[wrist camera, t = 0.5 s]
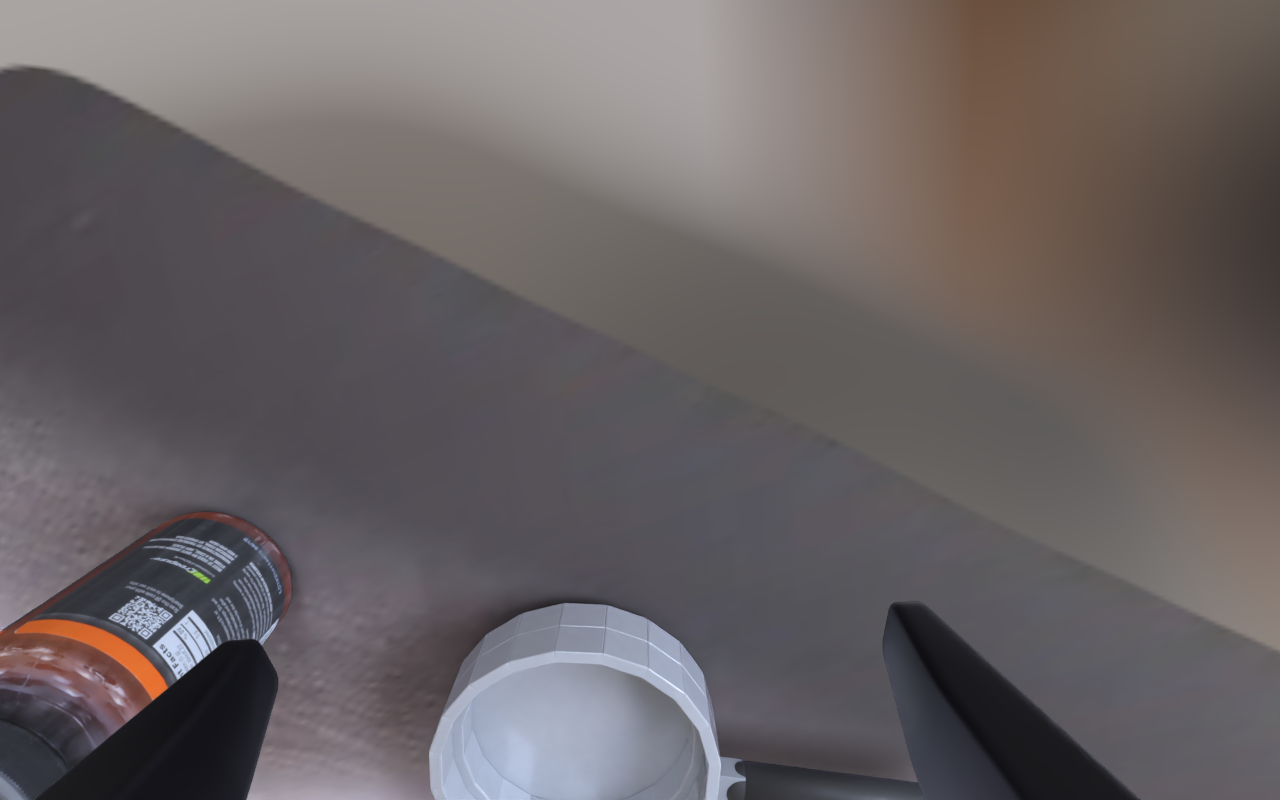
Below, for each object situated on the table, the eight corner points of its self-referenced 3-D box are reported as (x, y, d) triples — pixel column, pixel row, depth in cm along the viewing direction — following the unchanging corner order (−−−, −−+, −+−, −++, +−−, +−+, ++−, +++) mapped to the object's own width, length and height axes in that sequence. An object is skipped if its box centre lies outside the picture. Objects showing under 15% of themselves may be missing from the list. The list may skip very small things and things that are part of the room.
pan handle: (695, 777, 27) (698, 811, 25) (702, 745, 27) (706, 778, 25) (966, 811, 28) (985, 847, 26) (977, 780, 27) (998, 815, 26)
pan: (604, 850, 31) (599, 929, 27) (403, 726, 29) (372, 794, 25) (763, 693, 28) (780, 759, 25) (557, 547, 26) (544, 596, 23)
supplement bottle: (155, 630, 27) (-163, 905, 17) (142, 497, 26) (-221, 706, 15) (302, 643, 28) (82, 925, 17) (298, 513, 26) (52, 730, 15)
